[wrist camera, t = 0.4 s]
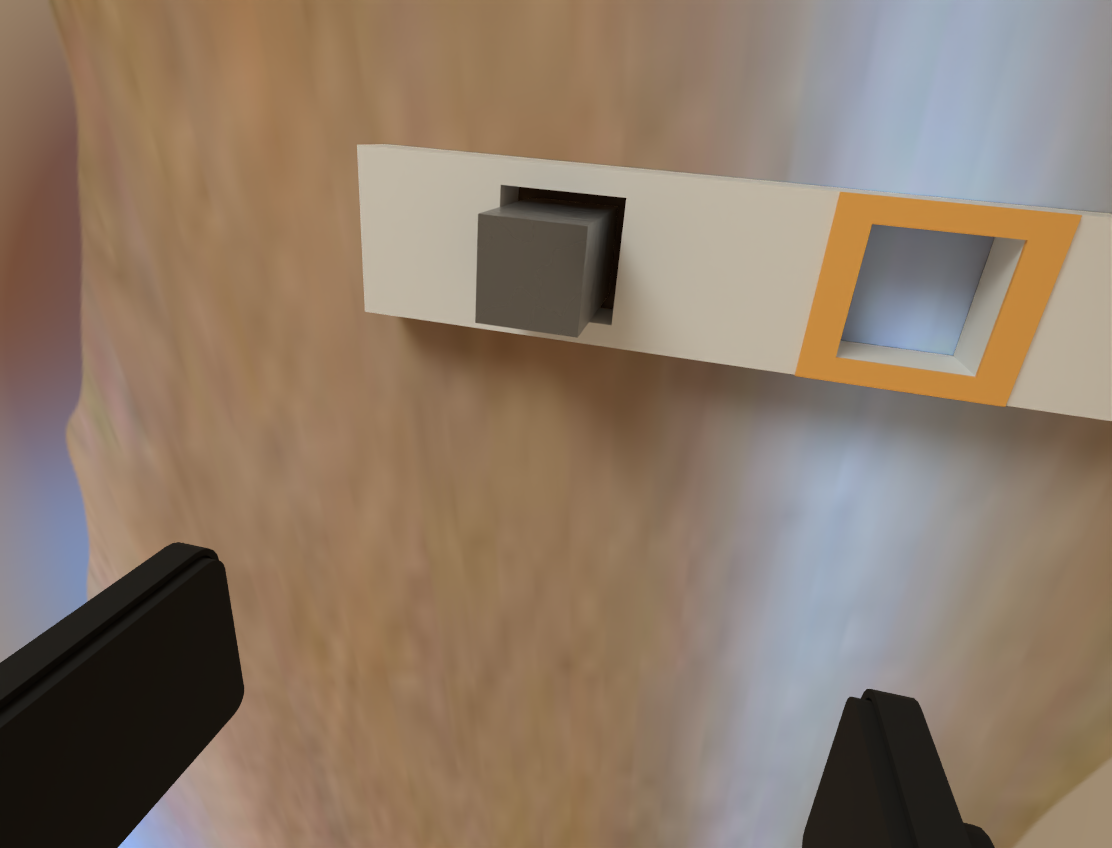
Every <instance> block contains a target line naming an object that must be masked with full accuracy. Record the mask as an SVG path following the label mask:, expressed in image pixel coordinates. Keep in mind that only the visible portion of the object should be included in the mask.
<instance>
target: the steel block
mask: <svg viewBox="0 0 1112 848" xmlns="http://www.w3.org/2000/svg"><path fill="white" fill-rule="evenodd" d="M618 210H619V206H611V205H602V204H593V203H583V202H574V201H565V200H555V199H546V198H537V197H531V198H527V199H524V200H521V201H518V202H514V203H511V204H508V205H505V206H501V207H498V208H495V209H492V210H488V211H485V212H482V213H479V214H478V234H477V273H476V312H475V323H480V324H487V325H494V326H500V327H507V328H514V329H521V330H528V331H535V332H542V333H549V334H555V335H562V336H569V337H576V338H578V336H579V335H580V334H581V332H582V331H583V330H584V328H585V327H586V326H587V324H588V323H589V321H590V320H591V319H592V317H593V316H594V315H595V313H596V312H597V311H598V309H599V308H600V307H601V305H602V304H603V302H604V301H605V300H606V298H607V297H608V296H609V289H610V281H611V272H612V263H613V254H614V245H615V236H616V227H617V218H618Z"/></svg>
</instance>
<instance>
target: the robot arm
mask: <svg viewBox="0 0 1112 848" xmlns="http://www.w3.org/2000/svg"><path fill="white" fill-rule="evenodd" d="M243 695H244V684H243V678H242V671H241V665H240V659H239V653H238V646H237V640H236V634H235V628H234V621H233V615H232V609H231V603H230V596H229V590H228V584H227V578H226V571H225V567H224V564H223V563H222V562H221V561H219V559H218V556H217V554H216V553H215V552H214V550H211V549H208V548H204V547H199V546H194V545H190V544H185V543H180V542H178V543H172V544H170V545H168V546H166V547H165V548H164V549H162V550H161V551H159V552H158V553H156V554H155V555H154V556H152V557H151V558H149V559H148V560H146V561H145V562H144V563H142V564H141V565H139V566H138V567H136V568H135V569H134V570H132V571H131V572H129V573H128V574H126V575H125V576H124V577H122V578H121V579H119V580H118V581H116V582H115V583H114V584H112V585H111V586H109V587H108V588H106V589H105V590H104V591H102V592H101V593H99V594H98V595H96V596H95V597H94V598H92V599H91V600H89V601H88V602H87V603H85V604H84V605H82V606H81V607H79V608H78V609H77V610H75V611H74V612H73V613H71V614H69V615H68V616H67V617H65V618H64V619H62V620H61V621H59V622H58V623H57V624H55V625H54V626H53V627H51V628H49V629H48V630H47V631H45V632H44V633H42V634H41V635H39V636H38V637H37V638H35V639H34V640H32V641H31V642H29V643H28V644H27V645H25V646H24V647H22V648H21V649H19V650H18V651H17V652H15V653H14V654H12V655H11V656H9V657H8V658H7V659H5V660H4V661H2V662H1V663H0V848H118V847H119V846H120V844H121V843H122V842H123V841H124V840H125V839H126V838H127V836H128V835H129V834H130V833H131V832H132V831H133V829H134V828H135V827H136V826H137V825H138V824H139V823H140V821H141V820H142V819H143V818H144V817H145V816H146V815H147V813H148V812H149V811H150V810H151V809H152V808H153V807H154V805H155V804H156V803H157V802H158V801H159V800H160V799H161V797H162V796H163V795H164V794H165V793H166V792H167V791H168V789H169V788H170V787H171V786H172V785H173V784H174V783H175V781H176V780H177V779H178V778H179V777H180V776H181V775H182V773H183V772H184V771H185V770H186V769H187V768H188V767H189V765H190V764H191V763H192V762H193V761H194V760H195V759H196V757H197V756H198V755H199V754H200V753H201V752H202V751H203V749H204V748H205V747H206V746H207V745H208V744H209V743H210V741H211V740H212V739H213V738H214V737H215V736H216V735H217V733H218V732H219V731H220V730H221V729H222V728H223V727H224V725H225V724H226V723H227V722H228V721H229V720H230V719H231V717H232V716H233V715H234V714H235V712H236V711H237V710H238V708H239V706H240V704H241V702H242V699H243ZM802 848H995V847H994V845H993V843H992V842H991V840H990V838H989V836H988V835H987V834H986V833H985V832H984V831H983V830H982V828H980V827H977V826H975V825H971V824H967V823H963V821H962V818H961V816H960V813H959V810H958V807H957V805H956V802H955V799H954V797H953V794H952V791H951V788H950V786H949V783H948V780H947V777H946V775H945V772H944V769H943V767H942V764H941V761H940V758H939V756H938V753H937V750H936V747H935V745H934V742H933V739H932V737H931V734H930V731H929V728H928V726H927V723H926V720H925V718H924V715H923V712H922V709H921V707H920V705H919V703H918V701H916V700H915V699H914V698H910V697H906V696H901V695H896V694H891V693H887V692H882V691H877V690H873V689H866V691H865V692H864V693H863V695H862V697H861V699H860V698H855V697H849V698H848V699H847V702H846V704H845V707H844V710H843V713H842V716H841V719H840V722H839V726H838V729H837V732H836V735H835V738H834V741H833V744H832V747H831V750H830V753H829V756H828V759H827V763H826V766H825V769H824V772H823V775H822V778H821V781H820V784H819V787H818V790H817V793H816V796H815V800H814V803H813V806H812V809H811V812H810V815H809V818H808V821H807V824H806V827H805V831H804V835H803V842H802Z"/></svg>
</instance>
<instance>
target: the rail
mask: <svg viewBox="0 0 1112 848" xmlns="http://www.w3.org/2000/svg"><path fill="white" fill-rule="evenodd" d="M357 154H358V175H359V196H360V217H361V238H362V259H363V280H364V301H365V312H371V313H378V314H385V315H392V316H399V317H405V318H412V319H419V320H426V321H433V322H440V323H446V324H453V325H460V326H467V327H474V328H480V329H487V330H494V331H501V332H508V333H514V334H521V335H528V336H535V337H542V338H548V339H555V340H562V341H569V342H576V343H583V344H589V345H596V346H603V347H610V348H617V349H623V350H630V351H637V352H644V353H651V354H657V355H664V356H671V357H678V358H685V359H692V360H698V361H705V362H712V363H719V364H726V365H732V366H739V367H746V368H753V369H760V370H766V371H773V372H780V373H787V374H794V375H795V376H798V377H805V378H812V379H818V380H825V381H832V382H839V383H846V384H852V385H859V386H866V387H873V388H880V389H886V390H893V391H900V392H907V393H914V394H920V395H927V396H934V397H941V398H948V399H954V400H961V401H968V402H975V403H981V404H988V405H995V406H1002V407H1005V406H1012V407H1018V408H1025V409H1032V410H1039V411H1046V412H1052V413H1059V414H1066V415H1073V416H1080V417H1087V418H1093V419H1100V420H1107V421H1112V214H1110V213H1099V212H1089V211H1078V210H1068V209H1057V208H1047V207H1037V206H1026V205H1016V204H1005V203H995V202H984V201H974V200H964V199H953V198H943V197H932V196H922V195H911V194H901V193H890V192H880V191H870V190H859V189H849V188H838V187H828V186H817V185H807V184H797V183H786V182H776V181H765V180H755V179H744V178H734V177H723V176H713V175H703V174H692V173H682V172H671V171H661V170H650V169H640V168H629V167H619V166H609V165H598V164H588V163H577V162H567V161H556V160H546V159H536V158H525V157H515V156H504V155H494V154H483V153H473V152H462V151H452V150H442V149H431V148H421V147H410V146H400V145H389V144H373V145H357ZM519 187H527V188H537V189H546V190H556V191H565V192H575V193H585V194H594V195H604V196H613V197H623V198H626V205H625V214H624V222H623V231H622V240H621V248H620V257H619V265H618V274H617V282H616V291H615V300H614V308H613V309H606V308H599V309H598V311H597V312H596V313H595V315H594V316H593V317H592V319H591V320H590V321H589V323H588V324H587V326H586V327H585V328H584V330H583V331H582V332H581V334H580V335H579V336H578V338H576V337H569V336H562V335H555V334H549V333H542V332H535V331H528V330H521V329H514V328H507V327H500V326H494V325H487V324H480V323H475V312H476V273H477V234H478V214H479V213H482V212H485V211H488V210H492V209H495V208H498V207H501V206H505V205H508V204H511V203H514V202H518V195H519ZM872 224H877V225H887V226H896V227H906V228H915V229H925V230H935V231H944V232H954V233H963V234H973V235H982V236H992V237H995V239H994V241H993V244H992V247H991V250H990V253H989V256H988V259H987V261H986V264H985V267H984V270H983V273H982V276H981V278H980V281H979V284H978V287H977V290H976V293H975V295H974V298H973V301H972V304H971V307H970V310H969V312H968V315H967V318H966V321H965V324H964V327H963V330H962V332H961V335H960V338H959V341H958V344H957V347H956V349H955V352H954V355H953V356H951V355H944V354H936V353H929V352H922V351H914V350H907V349H900V348H892V347H885V346H877V345H870V344H863V343H855V342H848V341H841V337H842V333H843V329H844V326H845V322H846V318H847V315H848V311H849V307H850V304H851V300H852V296H853V293H854V289H855V285H856V282H857V278H858V274H859V270H860V267H861V263H862V259H863V256H864V252H865V248H866V245H867V241H868V237H869V234H870V230H871V226H872Z"/></svg>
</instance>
